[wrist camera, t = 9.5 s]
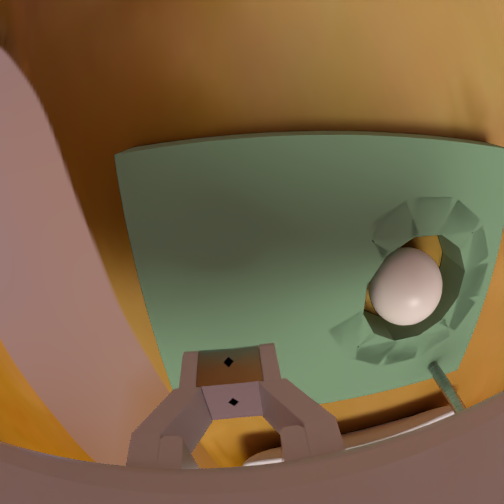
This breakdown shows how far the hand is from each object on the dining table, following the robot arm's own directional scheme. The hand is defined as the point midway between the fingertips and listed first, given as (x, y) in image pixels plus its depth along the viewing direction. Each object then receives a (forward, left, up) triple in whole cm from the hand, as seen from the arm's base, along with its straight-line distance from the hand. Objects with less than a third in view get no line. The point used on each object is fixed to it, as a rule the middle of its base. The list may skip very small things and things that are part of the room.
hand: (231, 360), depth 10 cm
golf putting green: (+1, +6, -7) cm, 9 cm away
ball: (+1, +9, -5) cm, 11 cm away
